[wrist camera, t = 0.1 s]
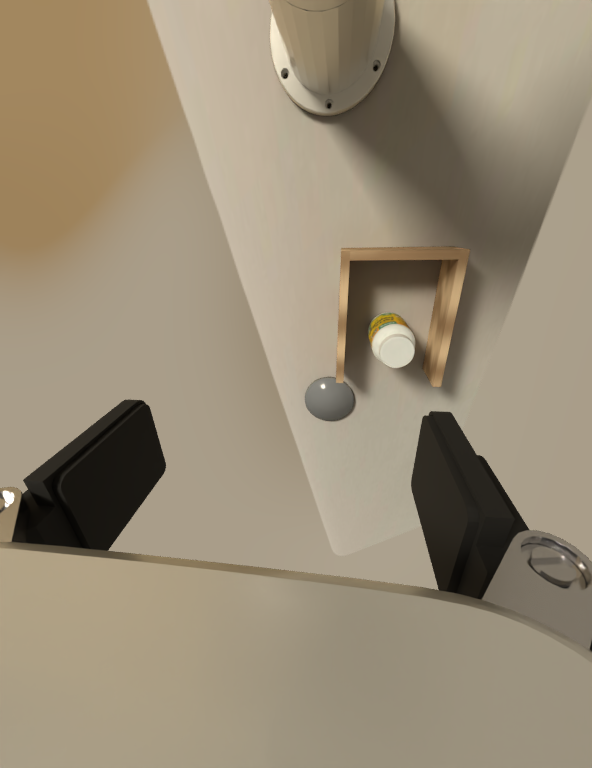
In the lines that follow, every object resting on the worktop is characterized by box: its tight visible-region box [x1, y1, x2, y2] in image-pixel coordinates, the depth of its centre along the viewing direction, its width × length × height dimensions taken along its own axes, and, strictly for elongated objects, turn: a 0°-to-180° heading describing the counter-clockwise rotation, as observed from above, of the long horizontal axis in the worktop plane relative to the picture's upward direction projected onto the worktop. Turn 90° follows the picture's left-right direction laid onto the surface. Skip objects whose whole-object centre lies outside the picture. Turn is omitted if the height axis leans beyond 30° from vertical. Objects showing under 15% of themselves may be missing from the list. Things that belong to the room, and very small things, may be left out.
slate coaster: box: [305, 377, 354, 421], centre depth 51 cm, size 8×8×1 cm
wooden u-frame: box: [336, 247, 470, 387], centre depth 41 cm, size 17×14×6 cm
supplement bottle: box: [368, 312, 415, 368], centre depth 41 cm, size 5×5×10 cm
